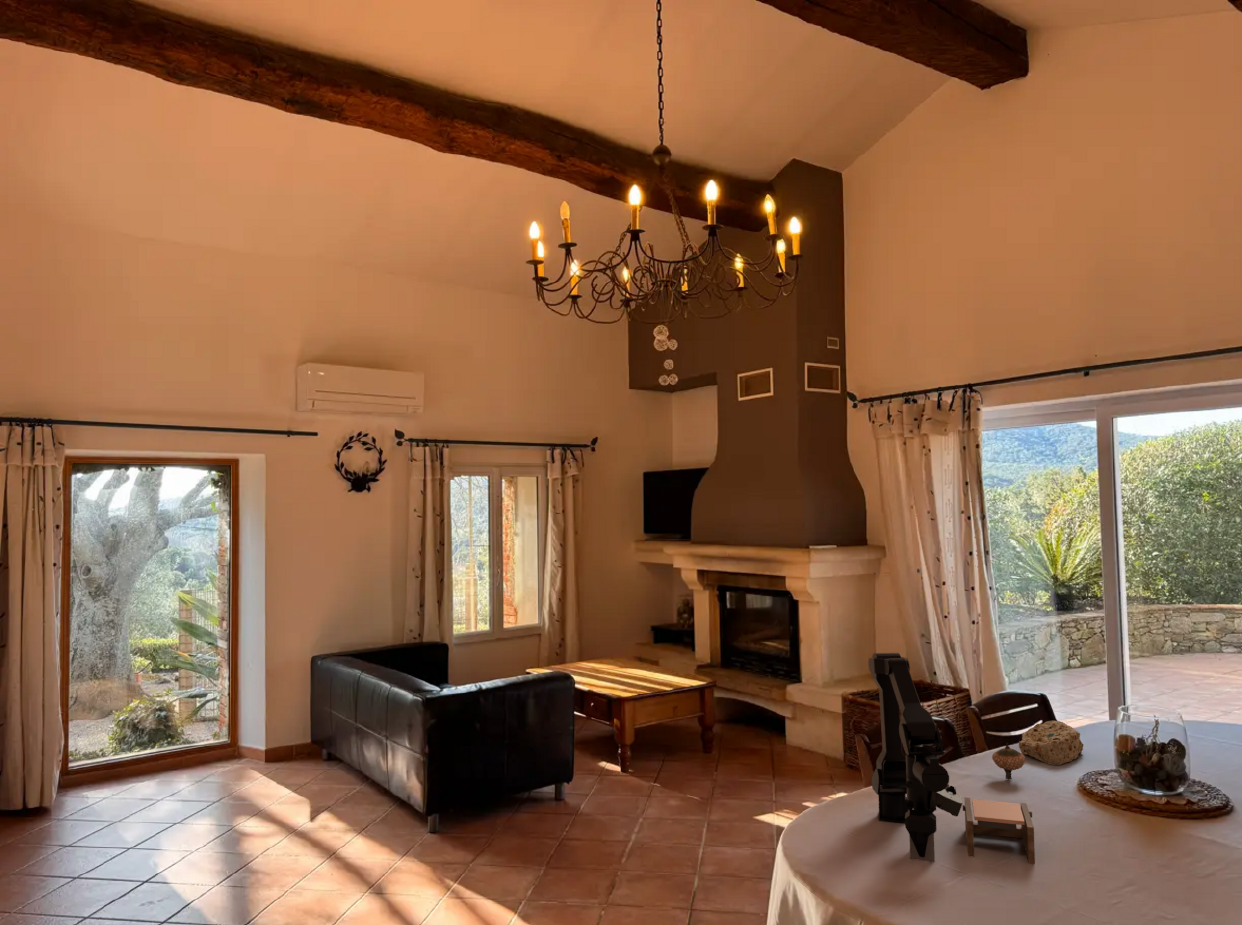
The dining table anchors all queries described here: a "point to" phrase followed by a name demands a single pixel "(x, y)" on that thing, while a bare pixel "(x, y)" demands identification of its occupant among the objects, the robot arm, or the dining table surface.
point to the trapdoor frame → (1001, 831)
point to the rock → (1052, 742)
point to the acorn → (1008, 760)
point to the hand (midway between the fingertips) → (922, 848)
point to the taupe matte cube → (929, 850)
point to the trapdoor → (997, 814)
